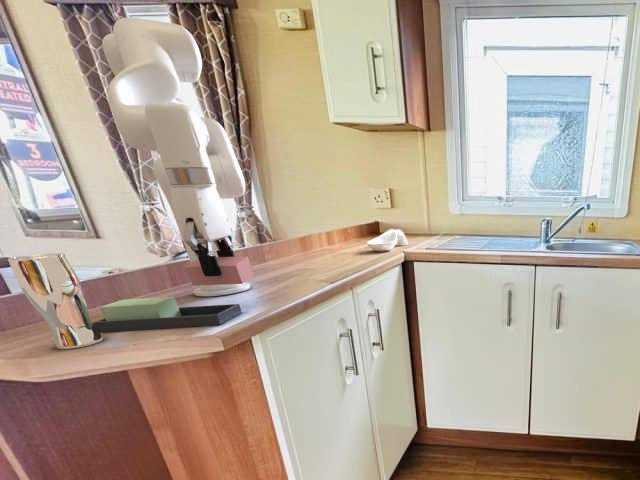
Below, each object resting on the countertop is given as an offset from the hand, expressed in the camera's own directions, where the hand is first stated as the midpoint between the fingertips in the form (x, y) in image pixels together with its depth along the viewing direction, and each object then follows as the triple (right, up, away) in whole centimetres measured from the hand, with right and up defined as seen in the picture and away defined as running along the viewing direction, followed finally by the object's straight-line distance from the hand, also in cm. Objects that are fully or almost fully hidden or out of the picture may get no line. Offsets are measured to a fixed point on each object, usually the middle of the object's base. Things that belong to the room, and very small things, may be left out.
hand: (221, 271), depth 90 cm
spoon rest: (+10, +33, +89) cm, 95 cm away
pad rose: (0, -1, +1) cm, 2 cm away
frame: (-6, -12, -5) cm, 14 cm away
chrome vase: (-14, -17, -15) cm, 27 cm away
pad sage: (-12, -11, -5) cm, 17 cm away
